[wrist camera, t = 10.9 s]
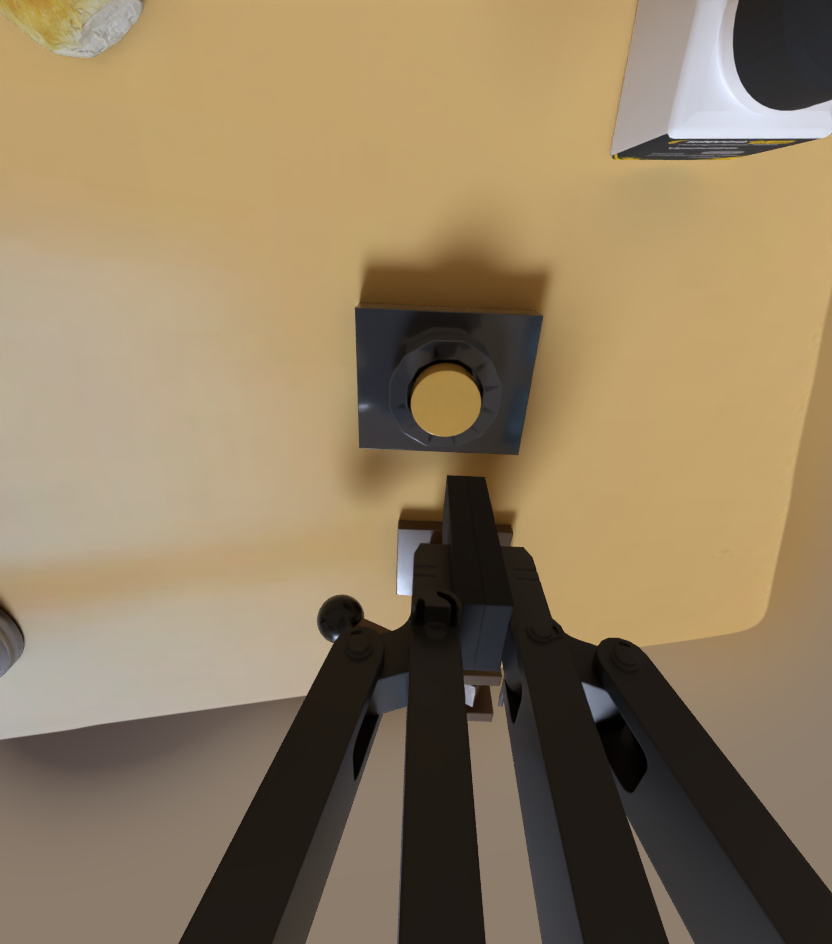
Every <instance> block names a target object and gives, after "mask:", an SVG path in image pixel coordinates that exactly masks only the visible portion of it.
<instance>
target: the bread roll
mask: <svg viewBox="0 0 832 944" xmlns="http://www.w3.org/2000/svg"><path fill="white" fill-rule="evenodd" d="M143 6H144V0H0V11H1V13H2V14H3V15H4V16H5V17H6V18H7V19H8V20H9V21H11V22H12V23H13V24H14V25H15V26H17V27H18V28H19V29H20V30H21V31H23V32H24V33H25V34H27V35H28V36H29V37H30V38H32V39H33V40H34V41H36V42H37V43H38V44H40V45H41V46H43V47H45V48H46V49H48V50H50V51H52V52H53V53H56V54H58V55H60V56H68V57H85V58H91V57H96V56H97V55H99V54H100V53H102V52H103V51H104V50H106V49H107V48H108V47H110V46H112V45H114V44H116V43H117V42H118V41H120V40H121V39H122V38H123V36H124V35H125V34H126V33H127V32H128V31H129V30H130V29H131V27H132V26H133V25H134V24H135V23H136V22H137V20H138V18H139V16H140V15H141V13H142V10H143Z"/></svg>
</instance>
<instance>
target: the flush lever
mask: <svg viewBox="0 0 832 944" xmlns="http://www.w3.org/2000/svg"><path fill="white" fill-rule="evenodd" d="M317 625H318V629H319V631H320V633H321V634H322V636H323V637H324V638H325V639H326V640H328V641H330V642H332V643H334V642H335V640H336V639H337V638H338V636H339V635H340V634H341V633H343V632H344V631H346V630H347V629H349V628H353V627H357V626H361V627H369V628H371V629H373V630H376V631H377V632H378V633H379V634H383V633H387V632H391V630H388V629H386V628H384V627H382V626H380V625H377V624H375V623H373V622H371V621H368V620H366V619H364V612H363V609H362V606H361V605H360V603H359V602H358V601H357V600H356V599H355V598H353V597H351V596H348V595H336V596H333V597H331V598H329V599H328V600H327V601H325V602H324V604H323V605H322V606H321V608H320V610H319V613H318V617H317ZM464 687H465V699H466V704H467V705H469V706H471V707H473V705H474V703H475V700H476V698H477V695H478V692H479V690H480V687H481V685H464Z"/></svg>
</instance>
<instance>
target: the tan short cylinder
mask: <svg viewBox="0 0 832 944" xmlns="http://www.w3.org/2000/svg"><path fill="white" fill-rule="evenodd" d="M480 409H481V396H480V392H479V389H478V386H477V384H476V381H475V379H474V377H473V376H472V375H471V373H470V372H469V371H468V370H466V369H465V368H463V367H461V366H459V365H457V364H453V363H438V364H435V365H432V366H430V367H428V368H426V369H425V370H424V371H423V372H422V373H421V374H420V375H419V376H418V377H417V379H416V380H415V382H414V385H413V388H412V394H411V410H412V414H413V417H414V419H415V421H416V422H417V424H418V425H419V426H420V427H421V428H422V429H423V430H425V431H426V432H428V433H430V434H433V435H436V436H442V437H448V436H454V435H457V434H460V433H462V432H464V431H465V430H467V429H468V428H469V427H471V426H472V424H473V423H474V422H475V421H476V419H477V417H478V415H479V413H480Z"/></svg>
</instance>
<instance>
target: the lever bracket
mask: <svg viewBox="0 0 832 944" xmlns="http://www.w3.org/2000/svg"><path fill="white" fill-rule="evenodd" d="M442 524H443V522H421V521H399V522H398V545H397V590H396V594H397V595H412V581H413V562H414V552H415V551H416V549H417V548H418V546H419V545H420V543H428V544H443V542H442ZM496 528H497V533H498V537H499V541H500V546H508V547H510V546H511V540H512V535H513V532H512V529H511V526H510V525H496ZM463 675H464V685H481V687H480V690H479V692H478V695H477V698H476V700H475V703H474V705H473V707H471V706H469V705H467V704H466V712H467V721H486V722H491V721H492V718H493V706H492V700H491V694H490V686H499V685H500V682H501V678H502V674H501V668H500V671H479V670H463Z"/></svg>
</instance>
